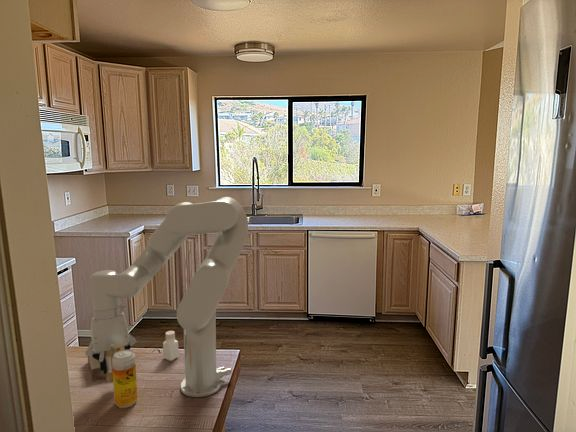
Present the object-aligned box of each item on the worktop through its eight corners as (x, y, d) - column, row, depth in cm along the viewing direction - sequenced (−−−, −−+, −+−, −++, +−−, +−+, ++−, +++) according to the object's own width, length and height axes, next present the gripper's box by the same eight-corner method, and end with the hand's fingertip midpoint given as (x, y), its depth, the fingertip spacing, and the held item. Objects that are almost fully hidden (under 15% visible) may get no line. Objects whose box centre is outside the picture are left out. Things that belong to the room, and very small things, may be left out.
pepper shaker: (162, 358, 140) (161, 333, 139) (171, 354, 144) (170, 329, 142) (170, 361, 138) (169, 336, 137) (179, 357, 142) (178, 331, 140)
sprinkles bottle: (124, 380, 121) (119, 338, 119) (107, 385, 118) (103, 342, 116) (121, 373, 124) (116, 332, 123) (105, 378, 122) (100, 336, 120)
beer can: (123, 411, 110) (120, 361, 108) (110, 404, 114) (107, 355, 112) (142, 400, 116) (139, 352, 114) (128, 394, 119) (126, 347, 117)
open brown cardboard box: (127, 353, 145) (126, 338, 144) (135, 370, 133) (134, 353, 132) (88, 362, 138) (86, 346, 137) (92, 381, 126) (91, 364, 125)
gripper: (134, 302, 126) (139, 356, 128) (75, 314, 117) (81, 372, 120) (139, 309, 119) (145, 366, 122) (76, 323, 111) (84, 384, 113)
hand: (113, 368), depth 121 cm, fingers closed on sprinkles bottle, 4 cm apart
